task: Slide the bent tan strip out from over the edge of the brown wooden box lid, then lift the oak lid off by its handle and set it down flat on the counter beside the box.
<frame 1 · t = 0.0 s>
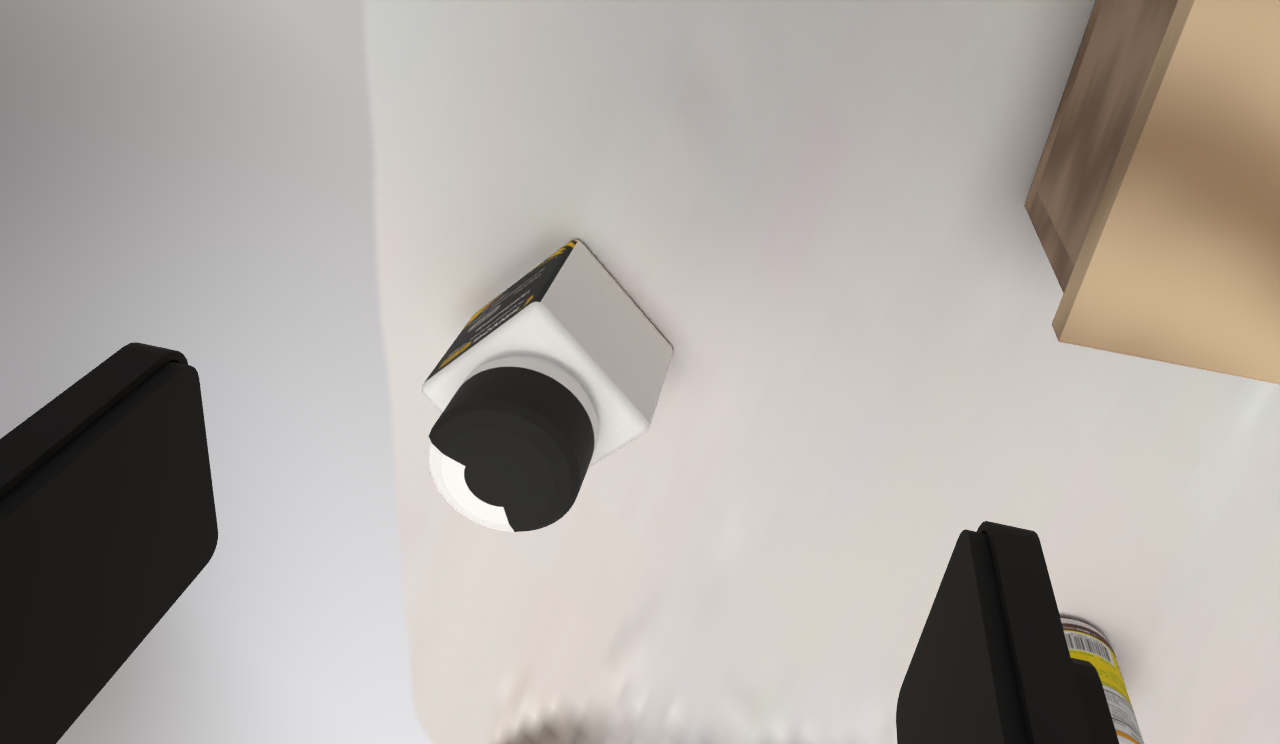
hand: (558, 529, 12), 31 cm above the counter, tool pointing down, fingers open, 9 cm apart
supplement bottle: (1054, 649, 51), on the counter
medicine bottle: (573, 330, 47), on the counter
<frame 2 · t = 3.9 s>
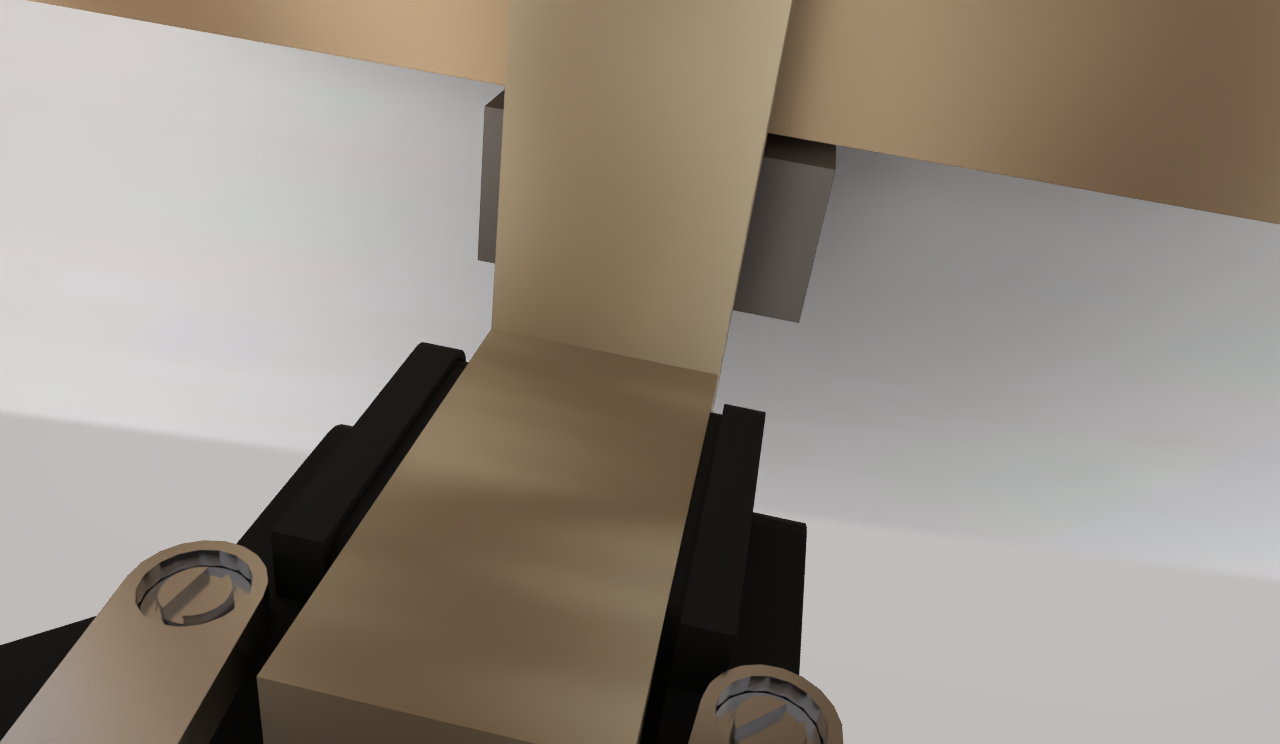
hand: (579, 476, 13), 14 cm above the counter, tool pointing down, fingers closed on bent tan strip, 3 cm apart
bent tan strip: (578, 318, 10), point 16 cm above the counter, slide at 0.0 cm, touching gripper
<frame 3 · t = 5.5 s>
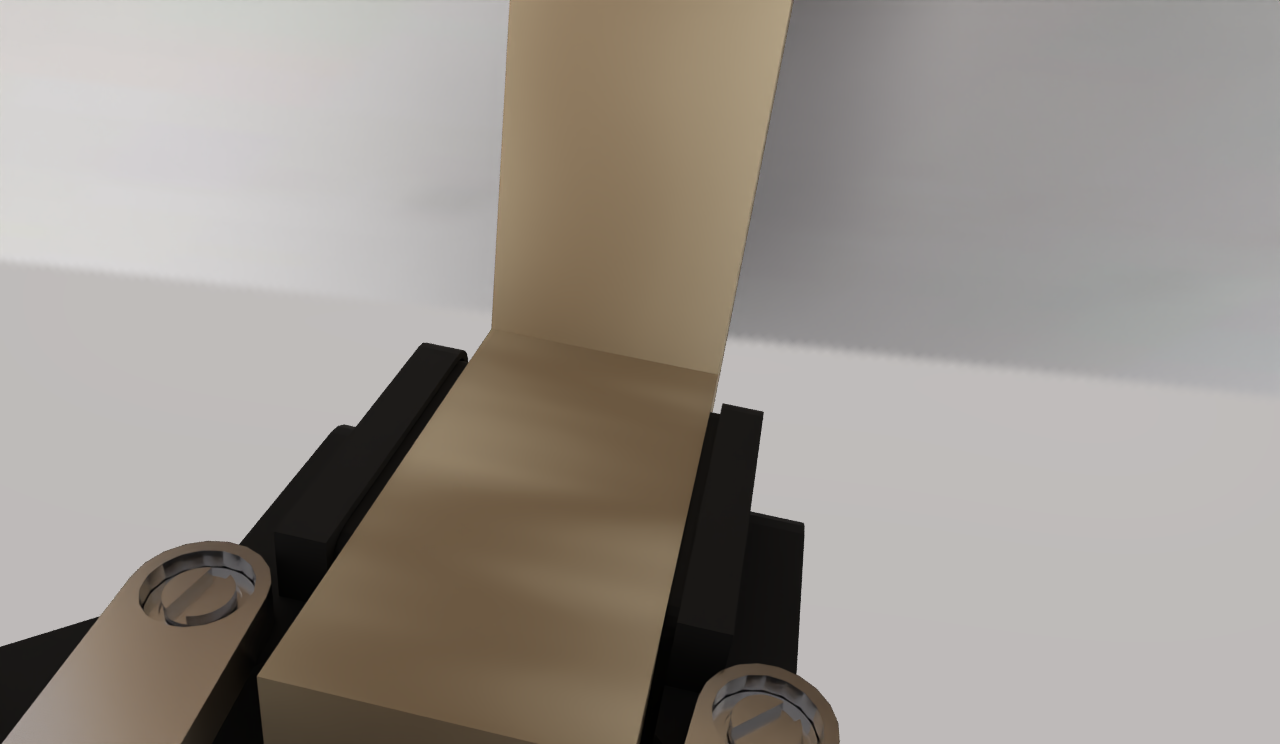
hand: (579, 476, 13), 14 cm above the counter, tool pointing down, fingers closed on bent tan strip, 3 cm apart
bent tan strip: (578, 318, 10), point 16 cm above the counter, slide at 5.9 cm, touching gripper
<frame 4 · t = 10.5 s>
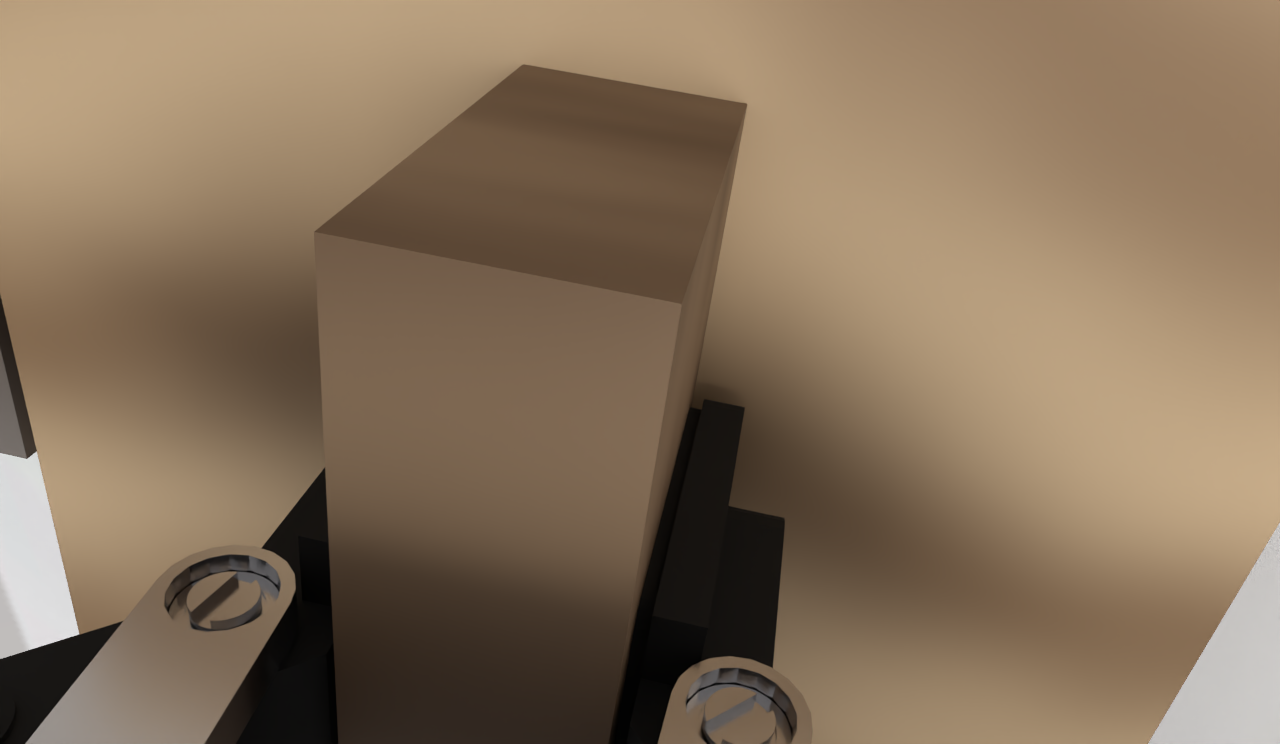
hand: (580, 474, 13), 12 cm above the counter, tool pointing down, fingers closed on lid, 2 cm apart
brown wooden box: (695, 183, 23), on the counter
lid: (606, 407, 14), point 10 cm above the counter, touching gripper, brown wooden box
when the fingers open (4 cm above the counter, at t = 19.0 s): lid drops 3 cm, on the counter.
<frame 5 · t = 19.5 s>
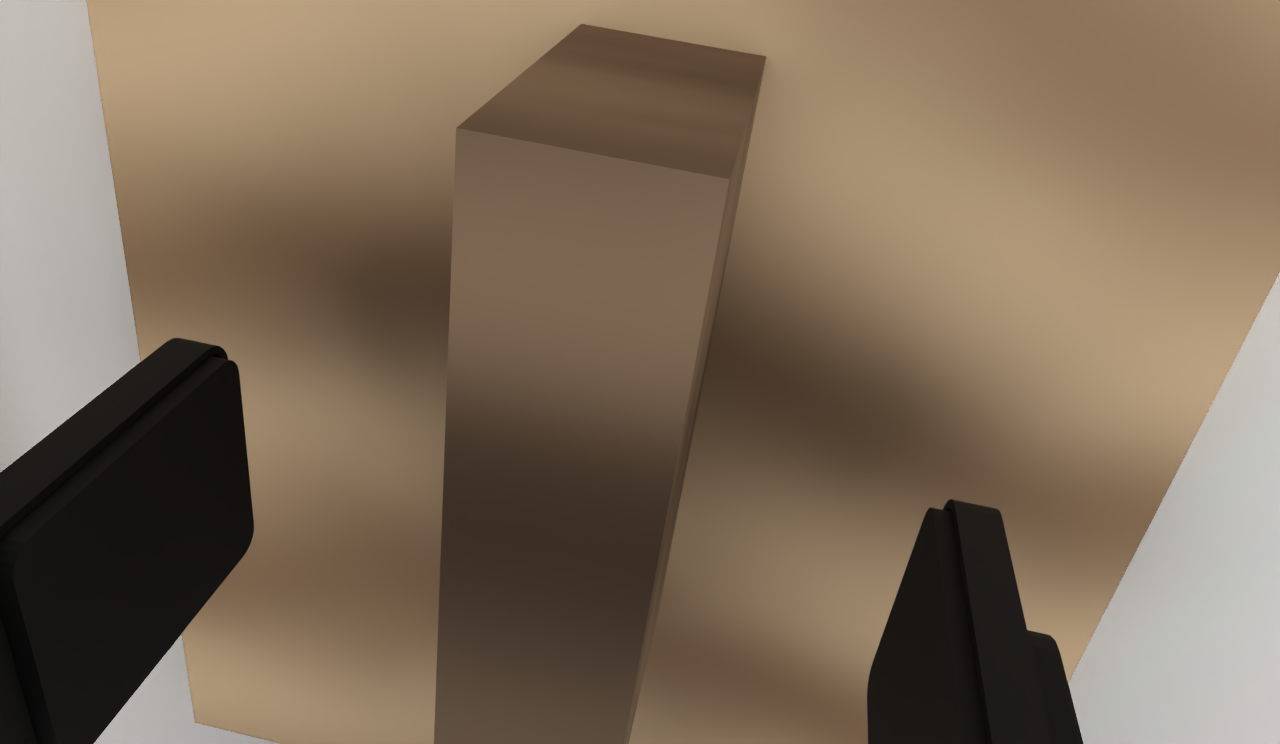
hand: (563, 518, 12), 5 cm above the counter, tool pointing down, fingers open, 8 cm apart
lid: (639, 328, 17), on the counter
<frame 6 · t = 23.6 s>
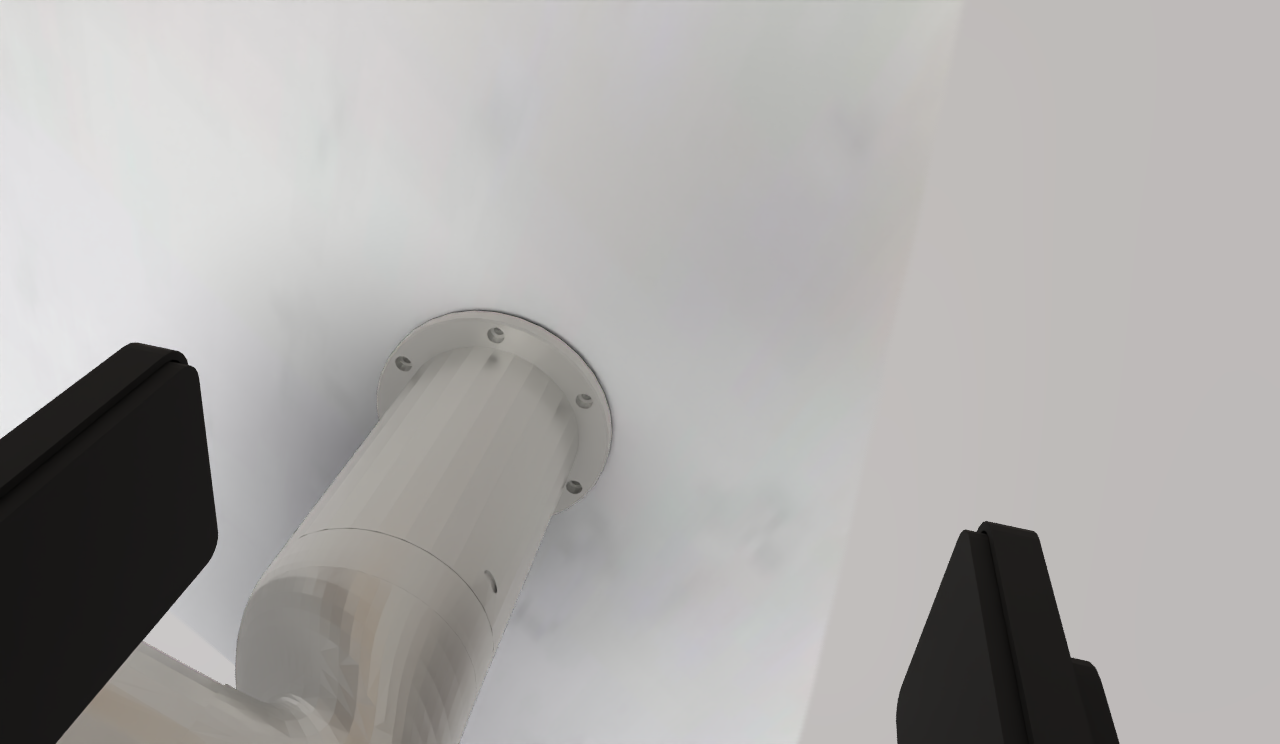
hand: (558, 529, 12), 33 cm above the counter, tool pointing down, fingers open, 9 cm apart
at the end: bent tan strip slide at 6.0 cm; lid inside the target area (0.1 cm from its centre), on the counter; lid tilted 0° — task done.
